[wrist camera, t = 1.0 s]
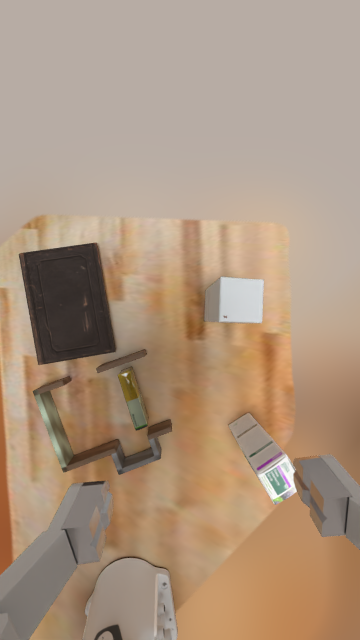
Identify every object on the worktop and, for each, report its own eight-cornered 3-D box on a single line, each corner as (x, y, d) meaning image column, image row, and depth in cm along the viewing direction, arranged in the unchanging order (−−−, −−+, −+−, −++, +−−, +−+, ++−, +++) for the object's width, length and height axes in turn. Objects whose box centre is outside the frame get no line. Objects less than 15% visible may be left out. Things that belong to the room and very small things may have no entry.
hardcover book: (100, 246, 43) (96, 242, 40) (117, 350, 43) (115, 352, 41) (24, 257, 42) (16, 253, 40) (43, 362, 42) (36, 365, 40)
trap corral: (178, 442, 43) (179, 451, 40) (78, 481, 42) (71, 493, 39) (145, 349, 43) (143, 351, 40) (42, 385, 42) (32, 391, 39)
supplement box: (236, 323, 44) (263, 325, 31) (203, 321, 44) (217, 322, 31) (237, 290, 44) (265, 278, 31) (205, 288, 44) (220, 275, 31)
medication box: (149, 417, 43) (148, 427, 39) (137, 421, 43) (135, 431, 39) (132, 365, 43) (129, 370, 39) (120, 369, 43) (116, 375, 39)
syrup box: (227, 424, 44) (255, 477, 30) (249, 410, 44) (288, 455, 30) (239, 446, 44) (274, 508, 30) (261, 431, 44) (306, 486, 30)
